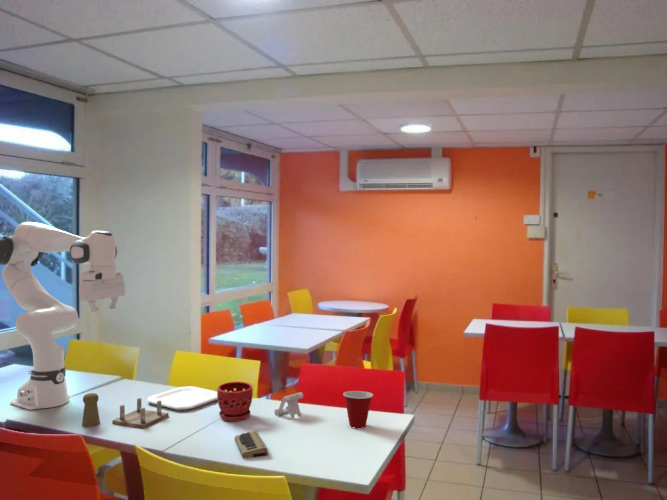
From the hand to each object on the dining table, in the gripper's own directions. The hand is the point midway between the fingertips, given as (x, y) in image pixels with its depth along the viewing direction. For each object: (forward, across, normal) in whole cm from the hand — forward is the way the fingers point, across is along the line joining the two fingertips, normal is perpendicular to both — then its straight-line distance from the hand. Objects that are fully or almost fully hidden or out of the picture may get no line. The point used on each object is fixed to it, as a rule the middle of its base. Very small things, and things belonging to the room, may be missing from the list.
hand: (103, 310), depth 211 cm
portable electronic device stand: (+41, -25, +65) cm, 81 cm away
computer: (+41, +9, +67) cm, 79 cm away
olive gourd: (+40, +9, +2) cm, 41 cm away
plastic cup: (+41, -23, +93) cm, 104 cm away
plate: (+41, -27, +17) cm, 52 cm away
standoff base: (+40, -1, +16) cm, 43 cm away
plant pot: (+40, -15, +47) cm, 64 cm away
